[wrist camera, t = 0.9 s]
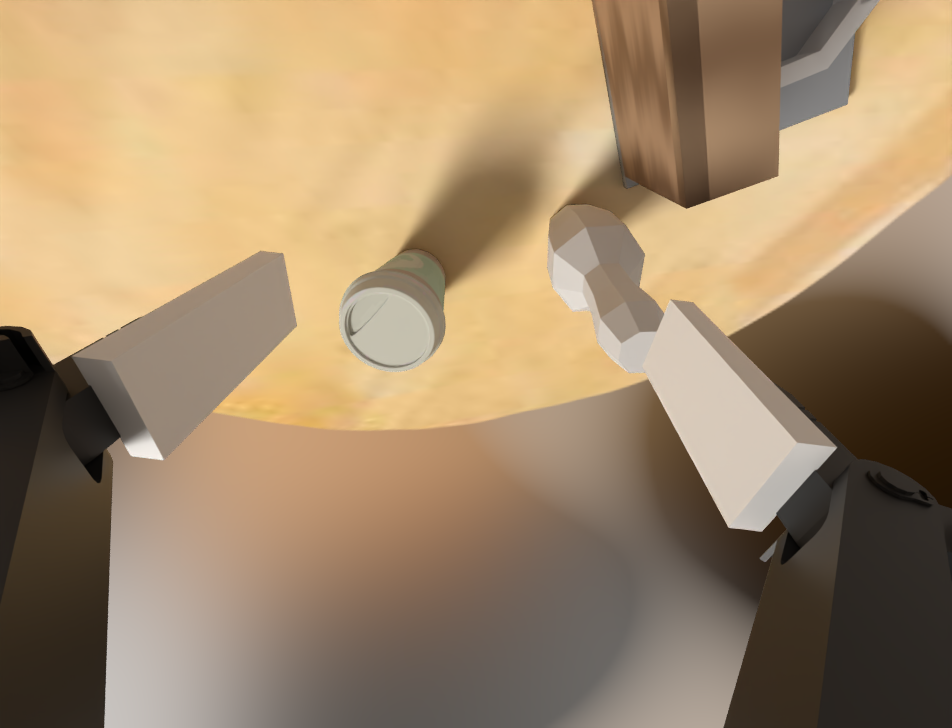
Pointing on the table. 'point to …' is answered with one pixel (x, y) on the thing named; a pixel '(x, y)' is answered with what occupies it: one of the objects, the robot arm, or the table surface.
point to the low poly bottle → (603, 280)
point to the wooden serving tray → (694, 92)
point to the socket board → (807, 59)
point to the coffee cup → (396, 312)
